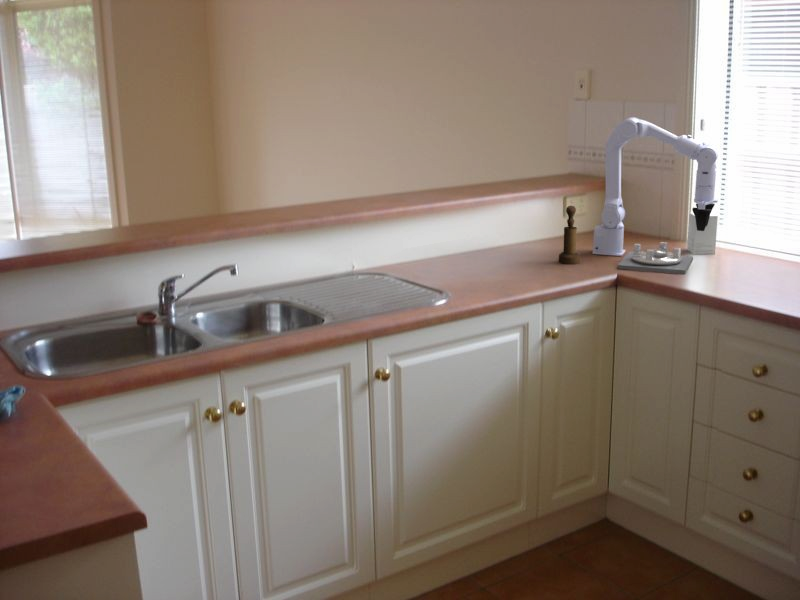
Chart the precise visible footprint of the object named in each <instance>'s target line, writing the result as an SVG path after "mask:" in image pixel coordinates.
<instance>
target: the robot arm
mask: <svg viewBox="0 0 800 600" xmlns="http://www.w3.org/2000/svg"><path fill="white" fill-rule="evenodd" d="M636 137H638V138H642V137H643V138H645V137H651V138H653V139H656V140H658V141H660V142H662V143H665V144H668V145H669V146H672V147H673V150H674V152H675V153H677V154H680V155H682V156H684V157H686V158H688V159H691V160H693V161H694V160H696V162H697V170H696V175H695V176H696V179H695V188H694V189H695V190H694V192H695V193H694V199H693V202H694V203H695V206H696V207H692V213H694V215H695V219H696V227H697V231H704V230H705V227H707V225H708V221H709V217H710V214H711V213H712V211H713V209H714V207H715V205H716V204H717V203H718V202H719V201H718V199H715V188H716V176H717V175H716V173H717V171H716V169H717V165H716V164H717V163H716V161H717V160H718V156H719V154H718V152H719V151H718V150H717V149H716V148H715V147H714V146H713V145H710V144H707V143H706V142H703V141H702V142H701V141H698V140H697V139H694V138H692V137H693V135H690V134H688V135H685V134H682V135H680V136H677V134H674V133H671V132H669V131H668V130H666V129H664V128H662V127H659V126H657V125H656V124H653V123H651V122H650V121H648V120H644V119H640V118H638V117H635V116H631V117H628V118H627V119H624V120H622V121H620V122H619V123H618V124H616V125H615V127H614V128H613V131H612V132H611V134H609V137H607V140H606V142H605V200H604V204H603V211H602V213H601V214H600V215H601V216H600V221H601V225H595V227H594V229H593V230H594V231H593V239H592V242H593V243H592V254H593V255H600V256H601V255H603V256H613V257H614V256H615V257H616V256H617V257H622V256H623V255H624V254H625V253H626V251H627V250H626V249H624V235H625V234H624V231H625V225H624V223H623V221H624V219H625V218H626V210H625V208H624V205H623V198H622V148H623V147H624V146H625V145H626V144H627V143H628V142H629V141H631V140H632V139H633V140H634V139H635V138H636ZM706 144H707V145H706Z"/></svg>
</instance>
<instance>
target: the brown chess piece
mask: <svg viewBox="0 0 800 600" xmlns="http://www.w3.org/2000/svg"><path fill="white" fill-rule="evenodd" d="M565 212H566V214H567V216H568V219H566V222H567V226H564V228H563V251H562V252H561V253H559V254H558V263H560V264H563V265H564V264H565V265H577V264H579V263H581V254H579V252H577V232H578V230H577V229H578V228H577V227H576V226H574V224H575V219H574V215H576V212H577V208H576V207H575V205H568V206H567V207H566V209H565Z"/></svg>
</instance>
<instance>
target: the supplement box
mask: <svg viewBox="0 0 800 600" xmlns="http://www.w3.org/2000/svg"><path fill="white" fill-rule="evenodd" d="M688 215H689V217H688V231H687V245H686V246H687V247H686V249H687V251H688V252H690V253H692V255H697V254H698V255H714V254H716V243H717V233H718V232H717V231H718V221H719V219H718V217H719V216H718V215H716V214H715V213H713V212H711V214H710V217H709V221H708V225H707V227H705V230H704V231H697V227H696V219H695V215H694V213H693V212H689V214H688Z"/></svg>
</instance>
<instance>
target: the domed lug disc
mask: <svg viewBox="0 0 800 600" xmlns="http://www.w3.org/2000/svg"><path fill="white" fill-rule="evenodd" d="M641 248H642V244H641V243H634V244H633V251H632V252H633V254H632V260H633V261H635V262H638V263H642V264H649V265H673V264H678V263H680V262H681V258H682V257H681V255H682V254H681V253H682V252H681V249H682V248H681V247H674V248H673V252H670V251H668V241H667V242H666V241H665V242H664V241H660V242H659V248H648V249H646V250H642V249H641Z"/></svg>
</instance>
